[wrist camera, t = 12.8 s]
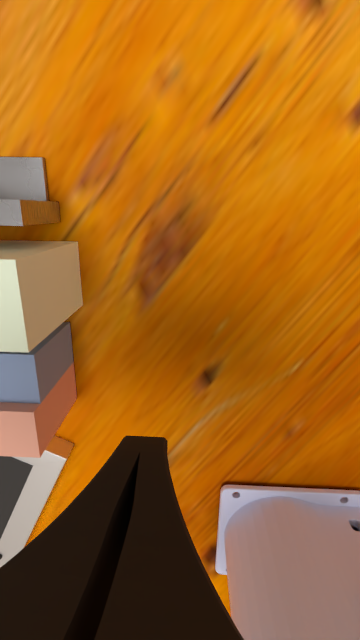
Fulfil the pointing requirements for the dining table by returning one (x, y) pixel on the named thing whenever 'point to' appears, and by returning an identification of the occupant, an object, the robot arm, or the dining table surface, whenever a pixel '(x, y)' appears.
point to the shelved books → (36, 394)
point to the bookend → (25, 193)
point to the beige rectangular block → (36, 290)
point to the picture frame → (27, 493)
